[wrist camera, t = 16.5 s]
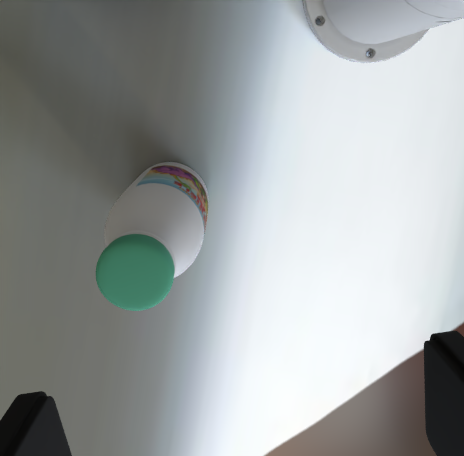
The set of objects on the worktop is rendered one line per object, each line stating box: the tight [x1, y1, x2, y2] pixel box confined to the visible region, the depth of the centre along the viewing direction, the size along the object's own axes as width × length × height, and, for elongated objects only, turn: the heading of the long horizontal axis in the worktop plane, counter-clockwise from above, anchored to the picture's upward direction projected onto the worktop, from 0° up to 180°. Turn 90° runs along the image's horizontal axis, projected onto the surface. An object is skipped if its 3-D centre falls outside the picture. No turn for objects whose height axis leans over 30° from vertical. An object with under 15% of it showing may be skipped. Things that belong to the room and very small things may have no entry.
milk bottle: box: [96, 162, 209, 311], centre depth 35 cm, size 8×8×20 cm
